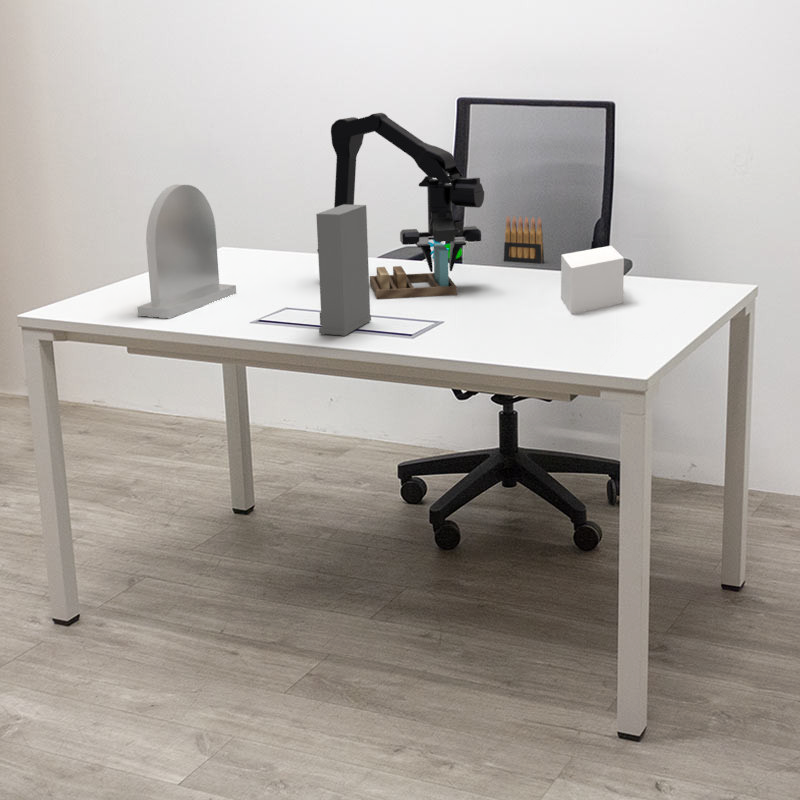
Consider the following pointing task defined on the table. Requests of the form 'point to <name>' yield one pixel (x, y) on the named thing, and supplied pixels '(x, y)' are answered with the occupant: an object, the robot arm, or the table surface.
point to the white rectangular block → (592, 279)
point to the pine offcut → (382, 278)
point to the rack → (410, 290)
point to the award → (182, 254)
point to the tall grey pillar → (343, 269)
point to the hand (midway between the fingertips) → (441, 271)
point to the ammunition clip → (523, 242)
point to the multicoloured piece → (447, 249)
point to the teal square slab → (441, 264)
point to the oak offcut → (399, 277)
